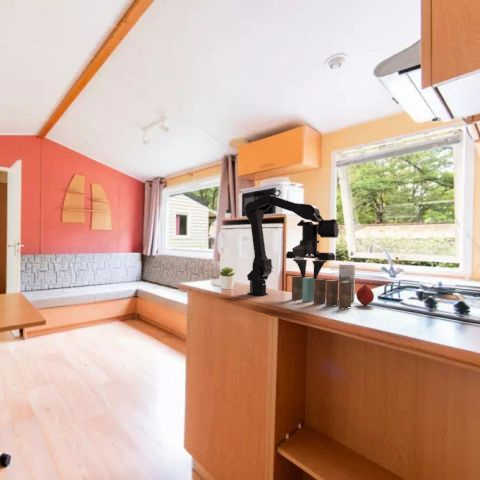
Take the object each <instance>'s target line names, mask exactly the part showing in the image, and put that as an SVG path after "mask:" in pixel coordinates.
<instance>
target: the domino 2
mask: <svg viewBox="0 0 480 480" xmlns="http://www.w3.org/2000/svg"><path fill="white" fill-rule="evenodd" d="M301 301H302V302H303V303H310V301H311V302H314V276H313V277H311V276H308V277H304V278H303V293H302V299H301Z"/></svg>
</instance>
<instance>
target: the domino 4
mask: <svg viewBox="0 0 480 480" xmlns="http://www.w3.org/2000/svg"><path fill="white" fill-rule="evenodd" d="M335 305H336V306H339V279H331V280H330V279H329V280H327V279H326V303H325V306H326V307H330V306H332V307H336V306H335Z"/></svg>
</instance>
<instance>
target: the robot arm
mask: <svg viewBox="0 0 480 480" xmlns="http://www.w3.org/2000/svg"><path fill="white" fill-rule="evenodd" d="M272 206H274V207H278V208H280V209H283V210H287V211H289V212H292V213H294V214H295V215H297V216H299V217H300V218H302V219H301V220H300V221H299V222H298V223H297V224H296V226H297V227H301V228H302V229H301V230H302V233H301V235H302V237H301V240H300V241H299V244H297V245H295V246H294V247H292V248H291V249H292V251H289V250H288V251H287V252H286V254H285V258H286V259H292V261H293V262H295V264H296V265H297V266H298V269H299V271H300V276H302V278H306V273H307V272H306V271H307V262H308V260H307V259H314V260H312V265H313V278H314V279H318V278H317V277H318V276H319V274H320V272H321V270H322V267H323V266H324V264H325V263H327V262H328V261H329V262H330V261H336V255H335V252H320V251H319V250H318V244H320V240H318V236H319V237H320V238H321V239H323V238H324V239H325V238H329V239H337V238H338V236H339V230H340V229H339V226H338V225H339V224H338V220H337V219H335V218H334V219H324V218H323V217H322V216H321V214H320V212H321V211H320V209H319V208H318V206H315V205H312V204H307V203H297V202H293V201H289V200H286V199H283V198H280V197H277V196H275V195H274V194H273V195H272V194H270V193H269V194H268V193H267V194H265V195H264V196H262V197H259V198H257V199H255V200H254V199H253V201H249V202H247V203H246V204H245V206H244V212H245V214H246V218H247V220H248V221H249V223H250V229H251V237H252V246H253V253H254V257H253V261H252V265H251V266H252V267H251V268H252V269H251V271H250V272H249V273H248V274H247V275H246V277H247V281H249V292H246V294H247V295H252V296H258V297H261V296H267V295H268V294H269V293H268V292H267V284H266V283H267V281H266V280H268V278H269V276H270V275H271V273H272V272H273V271H272V269H273V265H272V264H273V263H272V262H273V261H272V258H268V256H267V252H266V246H265V245H266V244H265V238H264V230H263V220H264V217H265V212H266V211H268V210H269V209H270V208H271V207H272ZM305 220H307V221H305Z"/></svg>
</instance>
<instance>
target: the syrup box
mask: <svg viewBox="0 0 480 480" xmlns="http://www.w3.org/2000/svg"><path fill="white" fill-rule="evenodd" d="M338 265H339V266H338V283H339V282H344V281H349V282H351V302H354V301H355V285H356V284H355V283H356V281H355V280H356V264H355V263H344V262H342V263H341V262H340V263H339V264H338Z"/></svg>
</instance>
